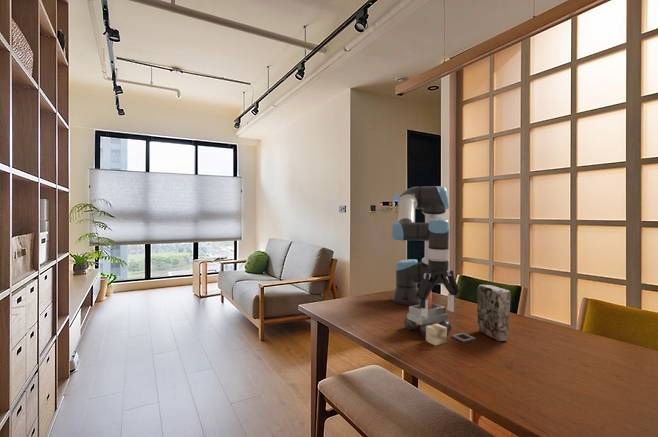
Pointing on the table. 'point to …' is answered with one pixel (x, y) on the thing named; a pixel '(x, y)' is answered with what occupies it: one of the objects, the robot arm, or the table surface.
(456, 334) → the collar
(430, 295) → the pin
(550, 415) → the table surface
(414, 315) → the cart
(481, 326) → the stone block
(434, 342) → the block
